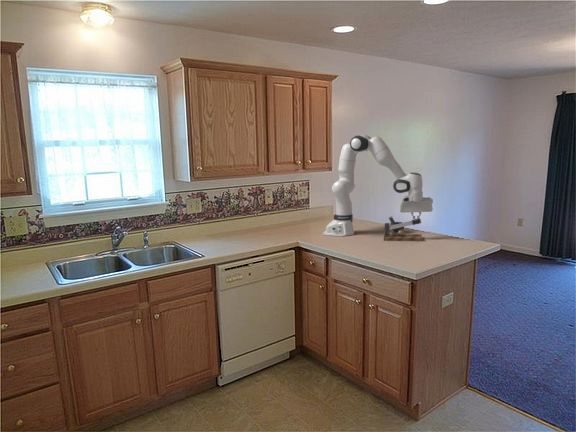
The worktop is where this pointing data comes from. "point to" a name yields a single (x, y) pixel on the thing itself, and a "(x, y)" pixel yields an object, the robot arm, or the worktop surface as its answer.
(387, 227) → the base
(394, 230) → the mortar and pestle
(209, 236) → the worktop surface
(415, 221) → the lever
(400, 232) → the smooth brown ball
